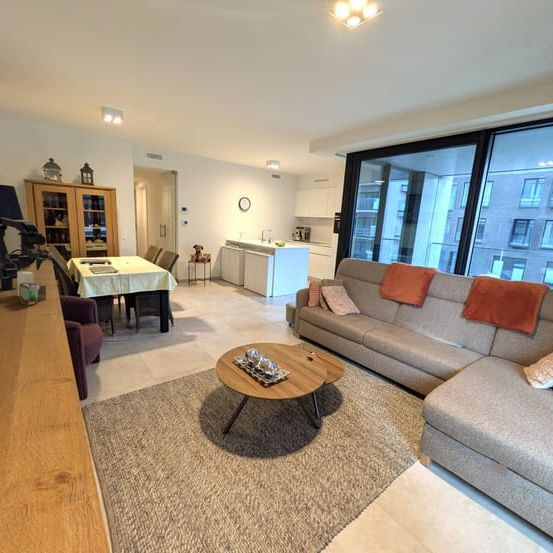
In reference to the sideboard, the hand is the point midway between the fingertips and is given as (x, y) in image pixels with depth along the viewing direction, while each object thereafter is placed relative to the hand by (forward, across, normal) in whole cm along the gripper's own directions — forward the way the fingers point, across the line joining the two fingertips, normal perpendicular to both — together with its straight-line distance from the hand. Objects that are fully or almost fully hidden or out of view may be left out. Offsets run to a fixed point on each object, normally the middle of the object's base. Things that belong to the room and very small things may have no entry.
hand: (28, 270), depth 174 cm
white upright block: (+13, -6, -11) cm, 18 cm away
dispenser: (+13, -7, -21) cm, 25 cm away
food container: (+13, -10, -27) cm, 32 cm away
